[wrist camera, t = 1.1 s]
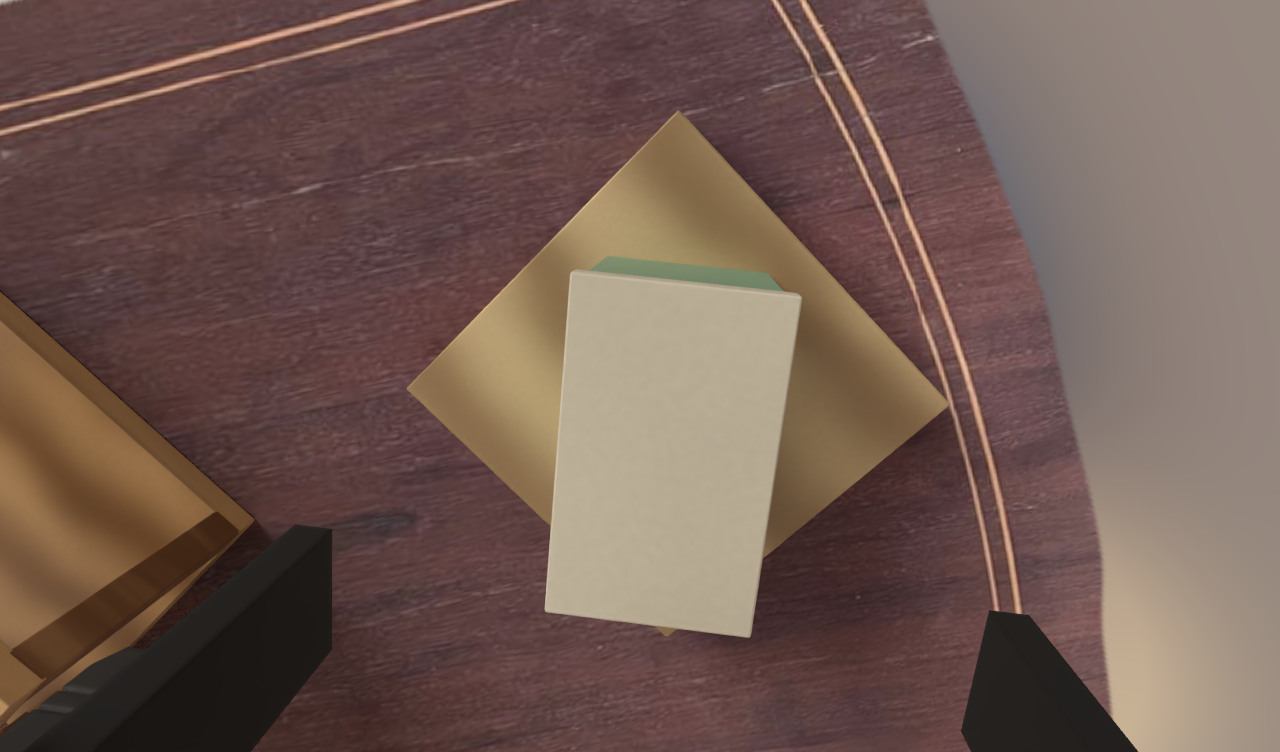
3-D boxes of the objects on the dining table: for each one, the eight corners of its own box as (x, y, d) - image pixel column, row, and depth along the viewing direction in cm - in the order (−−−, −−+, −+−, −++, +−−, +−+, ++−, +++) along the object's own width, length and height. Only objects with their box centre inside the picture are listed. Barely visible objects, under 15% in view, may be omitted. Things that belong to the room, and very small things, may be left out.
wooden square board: (680, 116, 32) (678, 109, 29) (929, 386, 34) (951, 405, 31) (429, 372, 35) (405, 389, 32) (668, 603, 37) (666, 638, 34)
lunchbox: (601, 249, 30) (570, 271, 22) (774, 268, 30) (803, 296, 22) (579, 513, 33) (543, 613, 25) (737, 532, 33) (750, 639, 25)
